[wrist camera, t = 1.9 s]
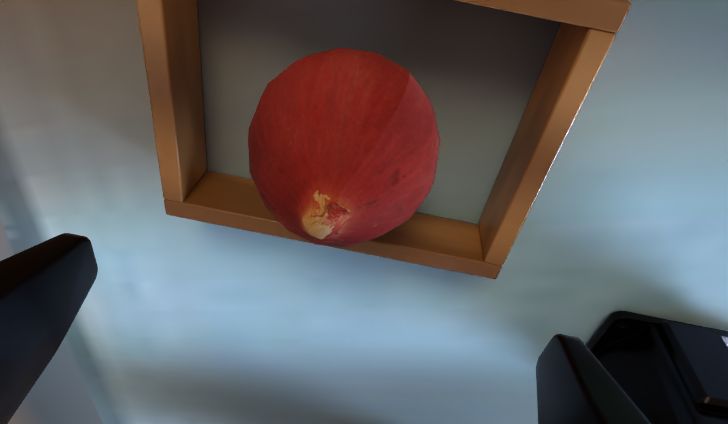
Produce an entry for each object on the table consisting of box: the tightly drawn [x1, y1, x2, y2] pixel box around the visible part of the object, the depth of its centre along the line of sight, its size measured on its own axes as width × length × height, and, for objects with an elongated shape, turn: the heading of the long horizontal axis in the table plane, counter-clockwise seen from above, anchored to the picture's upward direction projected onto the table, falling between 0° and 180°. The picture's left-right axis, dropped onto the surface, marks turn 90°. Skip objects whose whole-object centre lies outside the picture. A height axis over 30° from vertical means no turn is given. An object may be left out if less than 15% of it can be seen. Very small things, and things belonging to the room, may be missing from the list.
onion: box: [248, 48, 440, 247], centre depth 14 cm, size 6×6×8 cm
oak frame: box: [137, 0, 632, 279], centre depth 16 cm, size 11×14×2 cm
